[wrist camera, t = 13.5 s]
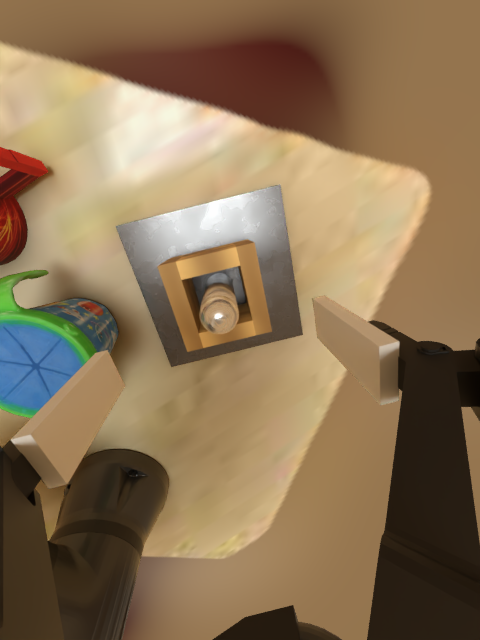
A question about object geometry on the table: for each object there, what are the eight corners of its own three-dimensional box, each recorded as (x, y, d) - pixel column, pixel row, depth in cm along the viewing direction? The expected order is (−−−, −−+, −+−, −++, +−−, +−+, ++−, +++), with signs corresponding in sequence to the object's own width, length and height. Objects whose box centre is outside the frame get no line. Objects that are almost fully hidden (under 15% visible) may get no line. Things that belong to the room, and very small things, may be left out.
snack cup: (146, 374, 33) (117, 433, 24) (67, 383, 33) (5, 448, 23) (113, 257, 27) (57, 273, 18) (17, 267, 27) (-92, 289, 17)
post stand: (172, 364, 33) (147, 437, 22) (117, 226, 26) (40, 225, 15) (301, 333, 33) (344, 389, 21) (279, 185, 26) (324, 153, 15)
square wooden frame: (193, 329, 31) (187, 351, 25) (170, 258, 27) (157, 266, 22) (262, 312, 31) (272, 331, 25) (247, 239, 27) (254, 242, 22)
